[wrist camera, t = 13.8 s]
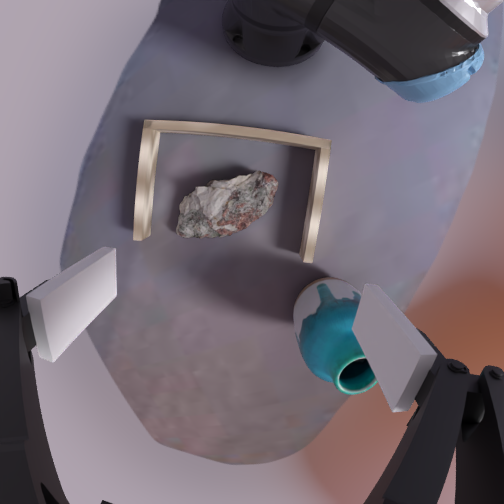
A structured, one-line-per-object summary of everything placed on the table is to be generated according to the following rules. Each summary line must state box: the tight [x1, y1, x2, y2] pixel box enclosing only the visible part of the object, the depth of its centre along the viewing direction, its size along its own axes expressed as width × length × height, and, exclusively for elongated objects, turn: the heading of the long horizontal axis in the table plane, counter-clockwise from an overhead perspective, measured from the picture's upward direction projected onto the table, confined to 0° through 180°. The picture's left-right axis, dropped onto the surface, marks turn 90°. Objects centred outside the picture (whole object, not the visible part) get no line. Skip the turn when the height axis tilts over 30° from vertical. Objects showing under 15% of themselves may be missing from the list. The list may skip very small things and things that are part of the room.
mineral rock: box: [176, 171, 278, 239], centre depth 40 cm, size 15×8×4 cm, turn 100°
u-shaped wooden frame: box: [133, 120, 332, 263], centre depth 39 cm, size 16×24×4 cm
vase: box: [293, 277, 378, 394], centre depth 36 cm, size 11×11×19 cm
